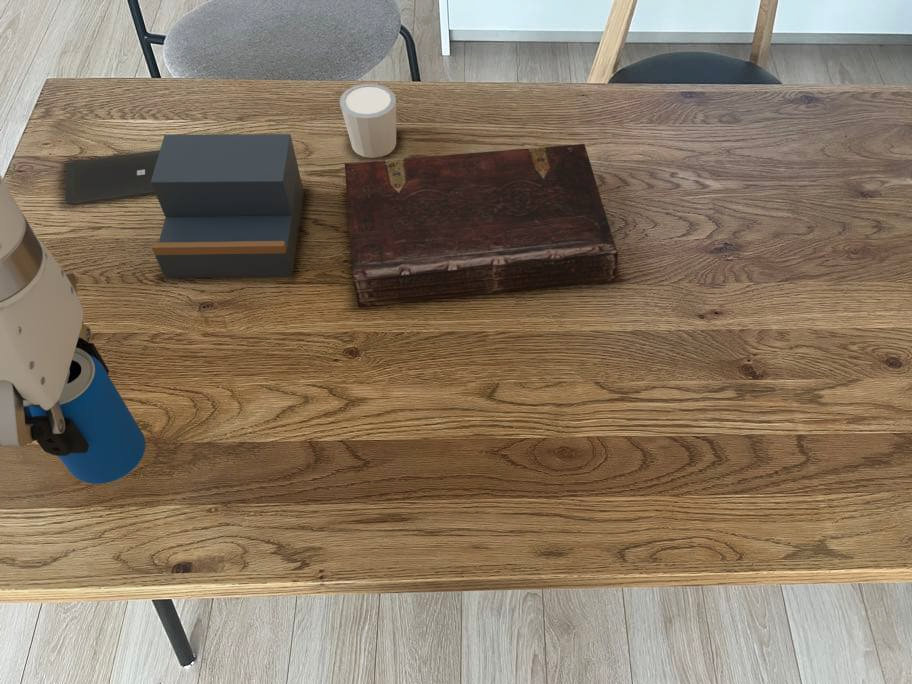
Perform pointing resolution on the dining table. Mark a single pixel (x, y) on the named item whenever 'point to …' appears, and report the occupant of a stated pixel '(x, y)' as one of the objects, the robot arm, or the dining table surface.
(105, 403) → the beverage can
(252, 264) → the step shelf
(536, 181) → the hardback book
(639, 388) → the dining table surface
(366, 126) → the white cylinder
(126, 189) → the smartphone
